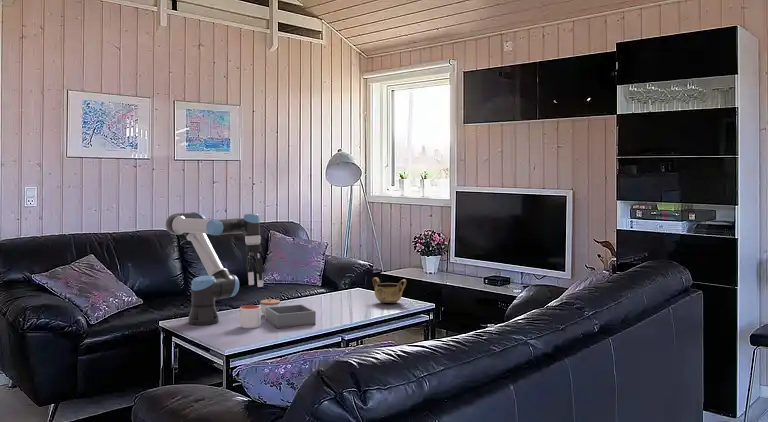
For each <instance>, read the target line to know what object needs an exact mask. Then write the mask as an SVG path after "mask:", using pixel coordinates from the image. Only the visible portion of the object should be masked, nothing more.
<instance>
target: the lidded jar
mask: <svg viewBox="0 0 768 422" xmlns="http://www.w3.org/2000/svg"><path fill="white" fill-rule="evenodd" d="M259 301H260V302H259V306H260V313H262V314H263V315H264V316H265V317H266V307H276V306H281V301H280V300H279V299H272V298H271V297H269V298H268V299H261V300H259Z"/></svg>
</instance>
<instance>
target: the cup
mask: <svg viewBox="0 0 768 422" xmlns="http://www.w3.org/2000/svg"><path fill="white" fill-rule="evenodd" d="M239 325H240V327H241V328H242V329H248V330H249V329H255V328H256V329H257V328H258V327H259V328H260V326H261V308H260V305H258V304H257V305H255V304H253V305H252V304H250V305H249V304H247V305H242V306H240V307H239Z"/></svg>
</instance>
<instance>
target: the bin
mask: <svg viewBox="0 0 768 422" xmlns="http://www.w3.org/2000/svg"><path fill="white" fill-rule="evenodd" d="M265 321H266V322H267V323H268V324H270V325H272V326H273V327H274V328H276V329H280V330H281V329H288V328H289V329H290V328H298V327H299V328H300V327H307V326H316V321H317V320H316V310H314V309H312V308H310V307H309V306H306V305H304V304H303V303H302V304H301V303H300V304H291V305H290V304H289V305H280V306H276V307H266V316H265Z"/></svg>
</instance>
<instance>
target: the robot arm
mask: <svg viewBox="0 0 768 422" xmlns="http://www.w3.org/2000/svg"><path fill="white" fill-rule="evenodd" d="M165 229H166V230H167V232H168V233H169V234H171V235H176V236H177V235H180V236H181V235H182V236H183V235H184V236H185V238H186V240H187V241H189V242H191V244H192V246H193V247H194V249H195V251H196V253H197V255H198V256H199V258H200V260H201V263H202V265H203V267H204V268H205V270H206V272H207V275H200V276H197V277H194V278H193V279H192V281H191V285H190V289H191V309H190V312H189V315H188V319H187V323H188V324H189V323H190V324H189V325H192V324H196V325H195V326H208V325H214V324H217V323H218V322H219V321H220V319H219V314H218V312H217V308H216V301H217V300H223V299H229V298H231V297H235V296H236V295H237V294H238V292H239V288H240V280H239V278H238V277H237V275H235V274H231V273H230V271H229V270H228V268H224V265H223V264H222V262H221V260H220V258H219V257H218V255H217V253H216V251H215V249H214V247H213V244H212V243H211V241H210V239H209V238H208V236H207V235H210V236H219V235H229V234H244V238H245V239H244V240H245V244H246V245H245V251H246V257H247V259H246V267H245V270H246V272H247V279H248V286H253V285H255V274H256V282H257V287H258V288H260V287H264V278H263V277H264V275H263V273H265V269H264V265H263V259H262V254H261V253H259V252H261V251H262V244H261V243H262V242H261V241H262V240H261V239H262V237H261V227H260V216H259V214H258V213H246V214H244V215H243V218H242V217H240V218H228V219H213V218H212V219H210V218H209V219H208V218H206V217H205V215H204V214H203V213H200V212H194V211H193V212H183V213H182V212H181V213H180V212H179V213H178V212H177V213H173V214H171V215H169V216H168V217H167V218H166V220H165ZM254 267H255V269H256V273H254V272H255V271H254Z"/></svg>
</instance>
